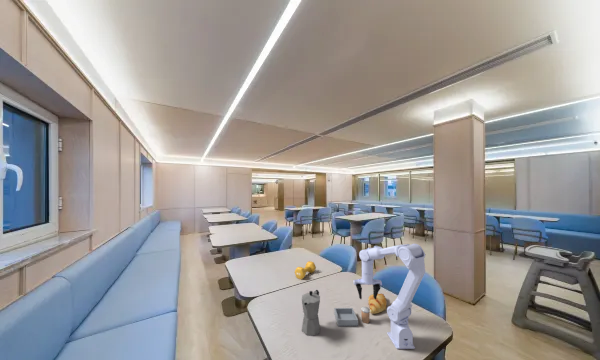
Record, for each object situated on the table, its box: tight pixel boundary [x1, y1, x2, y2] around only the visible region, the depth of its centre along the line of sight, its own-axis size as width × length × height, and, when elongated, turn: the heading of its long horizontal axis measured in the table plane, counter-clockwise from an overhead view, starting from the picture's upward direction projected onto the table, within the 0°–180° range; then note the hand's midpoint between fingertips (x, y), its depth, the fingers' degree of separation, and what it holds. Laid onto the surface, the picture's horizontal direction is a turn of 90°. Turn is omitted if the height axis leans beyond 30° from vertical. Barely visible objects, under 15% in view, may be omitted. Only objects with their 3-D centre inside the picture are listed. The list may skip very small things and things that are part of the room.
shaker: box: [360, 306, 371, 325], centre depth 105 cm, size 4×4×6 cm
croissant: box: [367, 292, 388, 315], centre depth 117 cm, size 21×10×8 cm, turn 144°
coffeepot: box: [301, 289, 321, 337], centre depth 99 cm, size 15×9×18 cm, turn 151°
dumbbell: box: [294, 260, 317, 280], centre depth 159 cm, size 19×9×8 cm, turn 143°
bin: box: [333, 307, 359, 327], centre depth 105 cm, size 10×10×3 cm
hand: (367, 298), depth 108 cm, fingers open, 7 cm apart
